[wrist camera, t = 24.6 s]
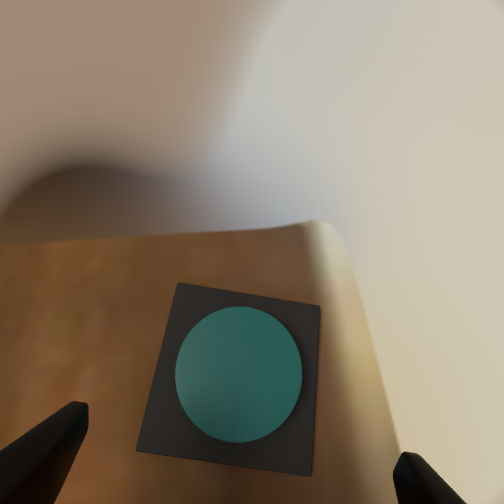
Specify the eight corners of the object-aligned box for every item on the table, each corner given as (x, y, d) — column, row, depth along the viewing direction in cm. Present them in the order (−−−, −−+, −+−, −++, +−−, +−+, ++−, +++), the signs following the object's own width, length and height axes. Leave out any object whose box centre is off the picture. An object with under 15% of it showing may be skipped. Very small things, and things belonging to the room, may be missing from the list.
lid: (317, 369, 18) (327, 367, 17) (238, 468, 16) (241, 477, 14) (237, 291, 20) (239, 282, 18) (153, 372, 17) (147, 370, 16)
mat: (308, 474, 17) (311, 477, 16) (137, 449, 16) (135, 451, 16) (317, 307, 20) (320, 305, 20) (178, 284, 20) (177, 281, 19)
